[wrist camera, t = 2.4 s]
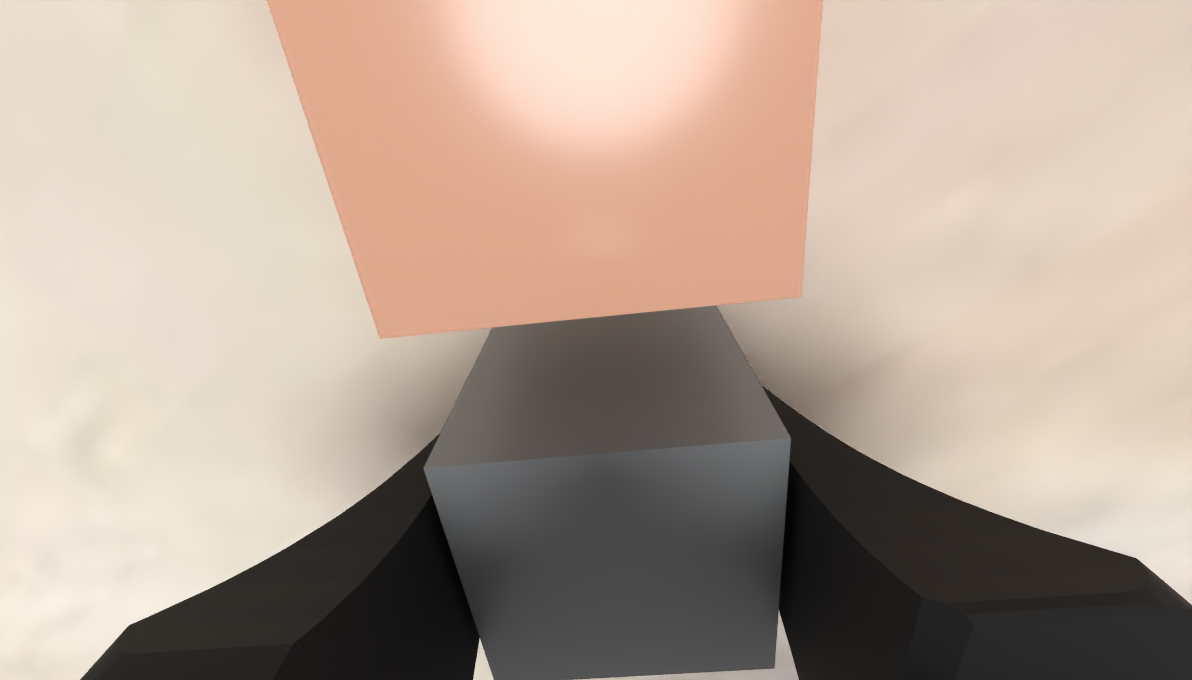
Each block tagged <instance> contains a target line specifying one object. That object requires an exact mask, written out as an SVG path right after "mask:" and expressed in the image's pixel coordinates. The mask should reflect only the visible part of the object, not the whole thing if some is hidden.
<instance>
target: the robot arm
mask: <svg viewBox="0 0 1192 680" xmlns="http://www.w3.org/2000/svg"><path fill="white" fill-rule="evenodd" d="M761 386H762V385H761ZM762 388H763V389H764V391H765V393H766V395H767V396H768V398H769V400H770V402H771V404H772V405H773V407H774V409H775V411H776V412H777V414H778V416H779V418H780V419H781V421H782V423H783V425H784V427H785V428H786V430H787V432H788V434H789V435H790V437H791V445H790V459H789V472H788V486H787V500H786V514H785V528H784V541H783V555H782V569H781V583H780V597H779V611H780V615H781V618H782V622H783V625H784V628H785V632H786V635H787V639H788V642H789V645H790V649H791V652H792V656H793V659H794V663H795V667H796V670H797V674H798V677H799V680H1192V605H1191V604H1190V603H1189V602H1187V601H1186V600H1185V599H1184V598H1183V597H1182V596H1180V595H1179V594H1178V593H1177V592H1176V591H1175V590H1173V589H1172V588H1171V587H1170V586H1169V585H1167V584H1166V583H1165V582H1164V581H1163V580H1162V579H1160V578H1159V577H1158V576H1157V575H1156V574H1155V573H1153V572H1152V571H1151V570H1150V569H1149V568H1147V567H1146V566H1145V565H1144V564H1143V563H1141V562H1140V561H1139V560H1138V559H1136V558H1133V557H1130V556H1127V555H1123V554H1120V553H1117V552H1113V551H1110V550H1107V549H1103V548H1100V547H1097V546H1093V545H1090V544H1086V543H1083V542H1080V541H1076V540H1073V539H1070V538H1066V537H1063V536H1060V535H1056V534H1053V533H1050V532H1046V531H1043V530H1040V529H1037V528H1034V527H1031V526H1029V525H1026V524H1023V523H1020V522H1017V521H1014V520H1012V519H1009V518H1006V517H1003V516H1000V515H998V514H995V513H992V512H989V511H987V510H984V509H981V508H979V507H976V506H974V505H971V504H969V503H966V502H963V501H961V500H958V499H956V498H954V497H951V496H949V495H947V494H944V493H942V492H940V491H937V490H935V489H933V488H931V487H928V486H926V485H924V484H921V483H919V482H917V481H915V480H913V479H911V478H908V477H906V476H904V475H902V474H900V473H898V472H896V471H894V470H892V469H890V468H888V467H887V466H885V465H883V464H881V463H879V462H877V461H875V460H873V459H871V458H869V457H867V456H866V455H864V454H862V453H860V452H858V451H857V450H855V449H853V448H852V447H850V446H848V445H847V444H845V443H843V442H842V441H840V440H839V439H837V438H835V437H834V436H832V435H830V434H829V433H827V432H826V431H824V430H823V429H821V428H820V427H818V426H817V425H815V424H814V423H812V422H811V421H809V420H808V419H806V418H805V417H804V416H802V415H801V414H799V413H798V412H796V411H795V410H794V409H792V408H791V407H790V406H788V405H787V404H786V403H784V402H783V401H782V400H780V399H779V398H778V397H776V396H775V395H774V394H772V393H771V392H770V391H768V390H767V389H766V388H764V387H763V386H762ZM439 435H440V434H439ZM439 435H438V436H437V437H436V438H435V439H434V440H433V441H431V442H430V443H429V444H428V445H427V446H426V447H425V448H424V449H423V450H422V451H421V452H420V453H418V454H417V455H416V456H415V457H414V458H412V459H411V460H410V461H409V462H408V463H407V464H405V465H404V466H403V467H402V468H401V469H399V470H398V471H397V472H396V473H395V474H394V475H392V476H391V477H390V478H389V479H388V480H386V481H385V482H384V483H383V484H381V485H380V486H379V487H378V488H376V489H375V490H374V491H372V492H371V493H370V494H368V495H367V496H366V497H364V498H363V499H362V500H360V501H359V502H357V503H356V504H354V505H353V506H352V507H350V508H349V509H347V510H346V511H345V512H343V513H342V514H340V515H339V516H337V517H336V518H334V519H333V520H331V521H329V522H328V523H326V524H325V525H323V526H321V527H320V528H318V529H317V530H315V531H313V532H312V533H310V534H309V535H307V536H305V537H304V538H302V539H300V540H299V541H297V542H296V543H294V544H292V545H291V546H289V547H287V548H286V549H284V550H282V551H280V552H279V553H277V554H275V555H273V556H271V557H270V558H268V559H266V560H264V561H262V562H261V563H259V564H257V565H255V566H253V567H251V568H249V569H247V570H246V571H244V572H242V573H240V574H238V575H236V576H234V577H232V578H230V579H228V580H226V581H224V582H222V583H220V584H218V585H216V586H214V587H212V588H210V589H208V590H206V591H204V592H202V593H199V594H197V595H195V596H193V597H191V598H189V599H186V600H184V601H182V602H180V603H178V604H176V605H173V606H171V607H169V608H167V609H165V610H162V611H160V612H158V613H156V614H154V615H152V616H149V617H147V618H145V619H143V620H140V621H138V622H136V623H133V624H131V625H129V626H128V627H127V628H126V629H125V630H124V631H123V633H122V634H121V635H120V636H119V637H118V638H117V639H116V640H115V642H114V643H113V644H112V645H111V646H110V647H109V648H108V649H107V650H106V652H105V653H104V654H103V655H102V656H101V657H100V658H99V659H98V660H97V662H96V663H95V664H94V665H93V666H92V667H91V668H90V669H89V671H88V672H87V673H86V674H85V675H84V676H83V677H82V678H81V679H80V680H473V676H474V669H475V663H476V657H477V650H478V644H479V638H480V636H479V633H478V630H477V627H476V624H475V621H474V618H473V615H472V612H471V609H470V606H469V603H468V600H467V597H466V594H465V591H464V588H463V585H462V582H461V579H460V576H459V573H458V570H457V567H456V564H455V562H454V559H453V556H452V553H451V550H450V547H449V544H448V541H447V538H446V535H445V532H444V529H443V526H442V523H441V520H440V517H439V514H438V511H437V508H436V505H435V502H434V499H433V496H432V493H431V490H430V487H429V484H428V481H427V478H426V475H425V472H424V469H423V468H424V466H425V464H426V462H427V460H428V458H429V456H430V454H431V452H432V450H433V448H434V446H435V444H436V442H437V440H438V437H439Z"/></svg>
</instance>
